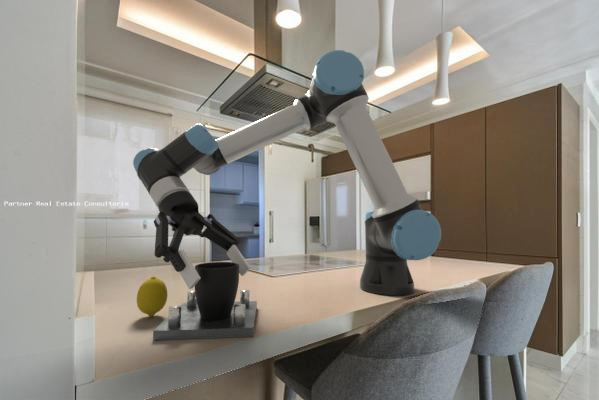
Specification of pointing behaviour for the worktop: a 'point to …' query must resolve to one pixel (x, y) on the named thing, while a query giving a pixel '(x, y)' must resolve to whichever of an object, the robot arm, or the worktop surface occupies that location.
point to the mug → (216, 289)
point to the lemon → (152, 296)
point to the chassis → (207, 321)
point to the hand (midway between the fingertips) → (223, 277)
